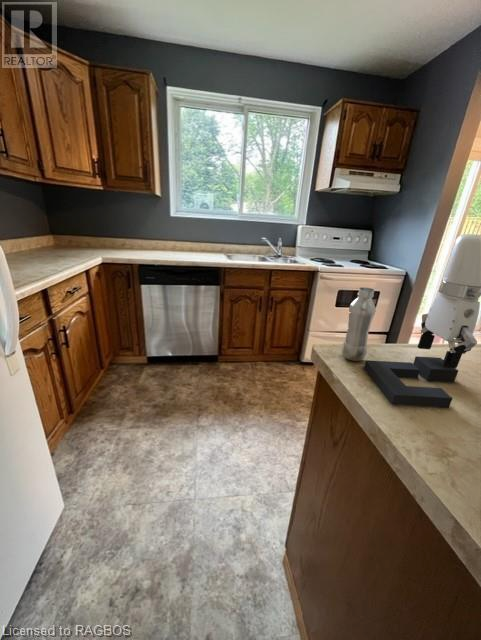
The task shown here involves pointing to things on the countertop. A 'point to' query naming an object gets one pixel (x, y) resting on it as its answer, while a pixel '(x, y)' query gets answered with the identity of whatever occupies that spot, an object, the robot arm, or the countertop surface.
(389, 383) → the notched tile
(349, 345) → the plastic bottle
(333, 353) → the countertop surface
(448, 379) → the black pad
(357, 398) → the countertop surface
